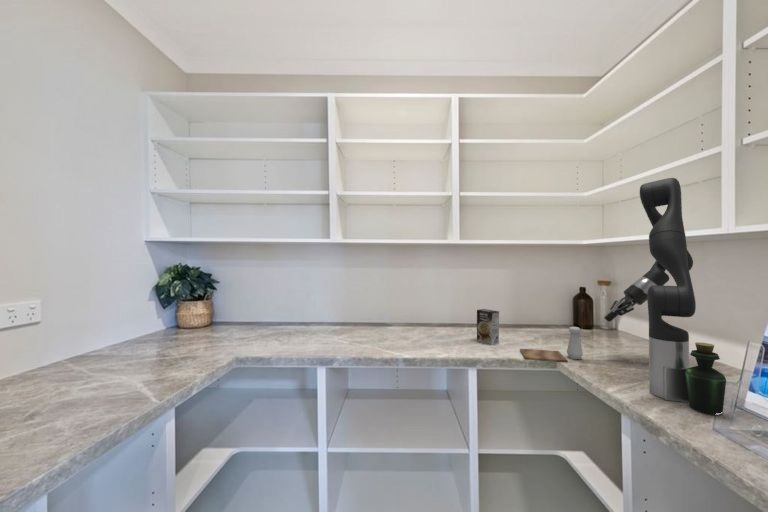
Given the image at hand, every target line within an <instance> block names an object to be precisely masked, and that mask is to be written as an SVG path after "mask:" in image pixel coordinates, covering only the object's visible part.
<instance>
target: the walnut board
mask: <svg viewBox="0 0 768 512" xmlns="http://www.w3.org/2000/svg"><path fill="white" fill-rule="evenodd" d="M519 351H520V353H521V355H522V354H523V355H522V356H524V357H523V359H524V360H530V361H533V360H534V361H543V362H544V361H546V362H557V363H558V362H560V363H569V361H568V359H567V358H566V357H565V356H564V355H563V354H562V353H561V352H560V351H559V350H548V349H531V348H519Z"/></svg>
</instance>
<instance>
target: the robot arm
mask: <svg viewBox="0 0 768 512" xmlns="http://www.w3.org/2000/svg"><path fill="white" fill-rule="evenodd" d="M639 198H640V203H641V204H642V207H643V209H644V211H645V214H646V216H647V218H648V220H649V222H650V224H651V226H652V228H651V230H650V232H649V234H648V245H649V254H650V255H651V256H652V258H654V260H655V261H654V263H653V264H652V266H651V268H650V269H649V270H648V271H647V272H645V274H643V275H642V276H641V277H640V278H638V279H636V280H635V281H634V282H633V283H631V285H630V286H628V287H627V288H626V289H624V290H623V294H624V295H625V296H624V297H621V298H620V299H618V300H614V302H613V304H612V305H611V306H610V308H609V309H610V310H609V311H610V312H609V313H607V314H606V315H605V316H603V318H604V320H606V321H607V322H609V323H610V322H612V321H613V320H614V319H615V318H616V317H619V316H620V317H621V316H624V315H626V314H628V313H630V312H631V311H634V310H635V307H634V306H635V305H638V306H642V305H643V304H644V303H646V302H647V311H648V366H649V367H648V376H649V377H648V383H649V393H650V394H651V395H654V396H656V397H659V398H662V399H663V400H666V401H671V402H673V401H675V402H684V403H689V399H688V391H687V383H686V375H685V371H686V370H687V369H688V368H690V334H689V332H688V331H687V330H685V329H684V328H680V327H678V326H675V325H672V324H670V323H668V322H667V321H665V320H663V317H676V318H691V317H694V316H695V313H696V310H697V309H696V307H697V306H696V305H697V304H696V297H695V293H694V292H695V291H694V288H693V282H692V278H691V274H690V271H691V270H692V269H693V265H694V259H693V257H692V254H691V253H690V252H689V250H688V248H687V247H688V245H687V238H686V232H685V226H684V221H683V211H682V210H683V208H682V207H683V205H682V204H683V203H682V188H681V184H680V181H679V180H678V179H677V178H675V177H667V178H663V179H659V180H654V181H650V182H646V183H645V182H644V183H643V184H641V185H640V186H639ZM663 206H667V207H666V209H665V211H664V213H663V214H661V213H660V212H659V210H658V209H657V207H663ZM666 271H667V272H668V273H669V274H670V276H671V277H672V278H673V280H674V282H675V285H666V284H667V283H668V282H669V280H670V276H669V274H668V273H666Z"/></svg>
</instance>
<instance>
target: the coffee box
mask: <svg viewBox="0 0 768 512" xmlns="http://www.w3.org/2000/svg"><path fill="white" fill-rule="evenodd" d="M499 327H500V311H498V310H492V309H486V308H483V309H482V308H481V309H476V342H477V343H481V344H485V345H490V346H495V345H498V344H500V328H499Z"/></svg>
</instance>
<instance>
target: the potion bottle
mask: <svg viewBox="0 0 768 512" xmlns="http://www.w3.org/2000/svg"><path fill="white" fill-rule="evenodd" d="M694 344H695V348H696V349H694V350H691V352H690V353H689V356H692V357H693V358H694V359H695V361H696V364H697V365H695V366H694V365H693V366H692V367H691V366H690V367H689V368H688V369H687V370H686V371H685V375H686V383H687V391H688V399H689V402H688V406H689V407H690V408H691V409H692V410H694V411H696V412H698V413H701V414H705V415H710V416H716V415H715V414H716V413H721V412H723V413H724V404H725V393H726V385H727V378H726V376H725V375H724V373H722V372H720V371H719V370H716V368H713V366H714V363H715V361H718V360H721V358H720V356H719V354H718V352H717V353H716V352H713V351H714V350H715V349H714V348H715V344H712V343H707V342H694Z"/></svg>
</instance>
